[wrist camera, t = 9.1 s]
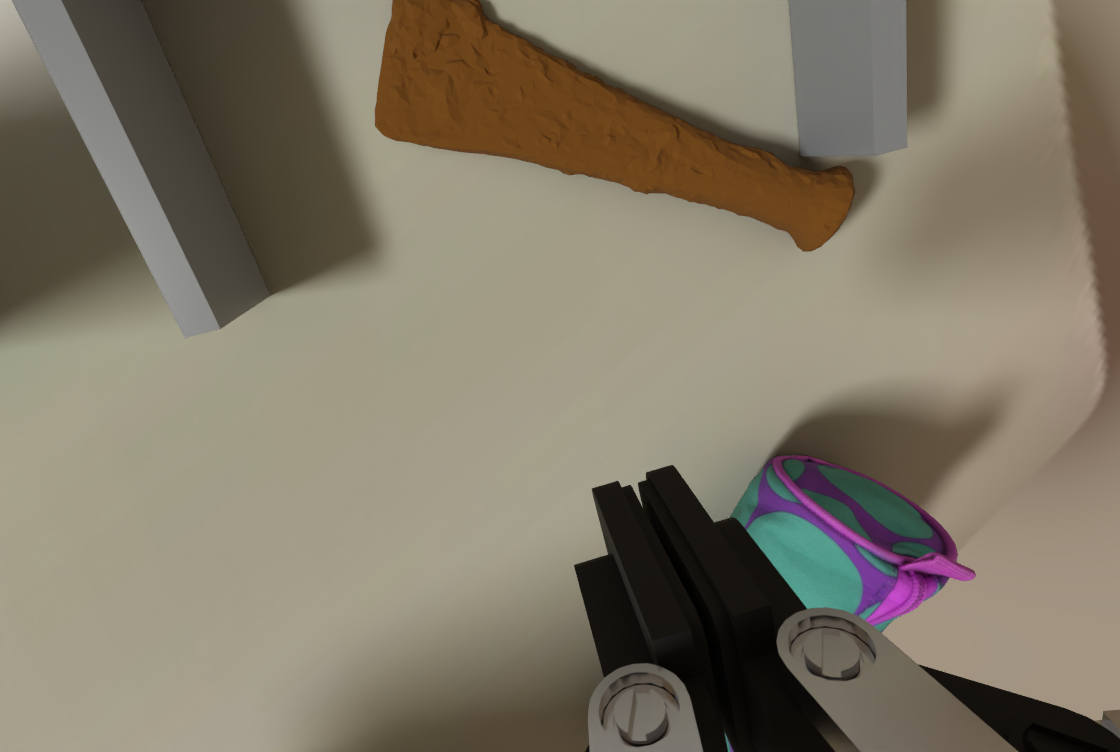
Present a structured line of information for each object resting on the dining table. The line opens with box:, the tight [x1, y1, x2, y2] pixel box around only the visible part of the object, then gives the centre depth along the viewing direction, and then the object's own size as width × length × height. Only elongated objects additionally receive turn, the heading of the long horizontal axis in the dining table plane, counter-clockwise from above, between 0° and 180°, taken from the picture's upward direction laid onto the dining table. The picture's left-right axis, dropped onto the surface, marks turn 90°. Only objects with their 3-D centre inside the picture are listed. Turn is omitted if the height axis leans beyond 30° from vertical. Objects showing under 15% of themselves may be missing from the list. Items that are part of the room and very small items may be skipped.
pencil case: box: [725, 455, 976, 752], centre depth 28 cm, size 21×9×10 cm, turn 157°
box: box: [12, 0, 907, 338], centre depth 19 cm, size 14×25×5 cm, turn 104°
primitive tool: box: [375, 0, 855, 252], centre depth 22 cm, size 19×6×4 cm, turn 75°
